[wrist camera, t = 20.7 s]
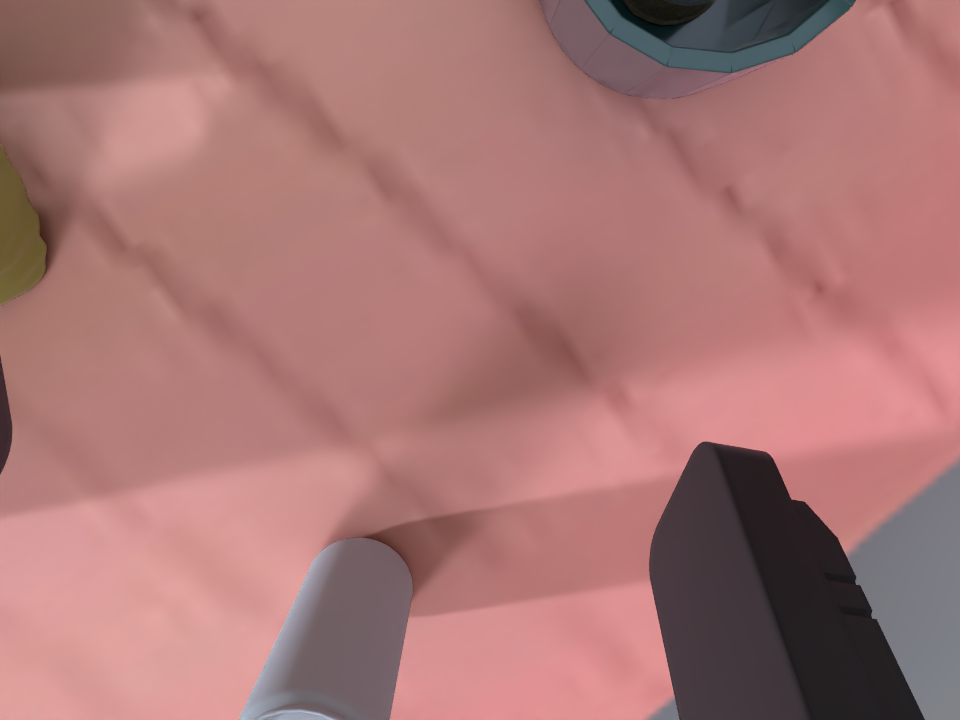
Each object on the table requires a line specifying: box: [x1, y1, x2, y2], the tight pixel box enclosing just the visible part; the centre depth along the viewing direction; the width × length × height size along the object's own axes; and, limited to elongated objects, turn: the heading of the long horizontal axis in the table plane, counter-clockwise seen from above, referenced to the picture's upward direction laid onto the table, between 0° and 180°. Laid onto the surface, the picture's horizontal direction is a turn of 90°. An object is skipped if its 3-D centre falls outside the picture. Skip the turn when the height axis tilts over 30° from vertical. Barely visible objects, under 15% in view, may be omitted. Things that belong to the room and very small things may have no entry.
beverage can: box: [239, 537, 413, 720], centre depth 30 cm, size 5×5×12 cm
